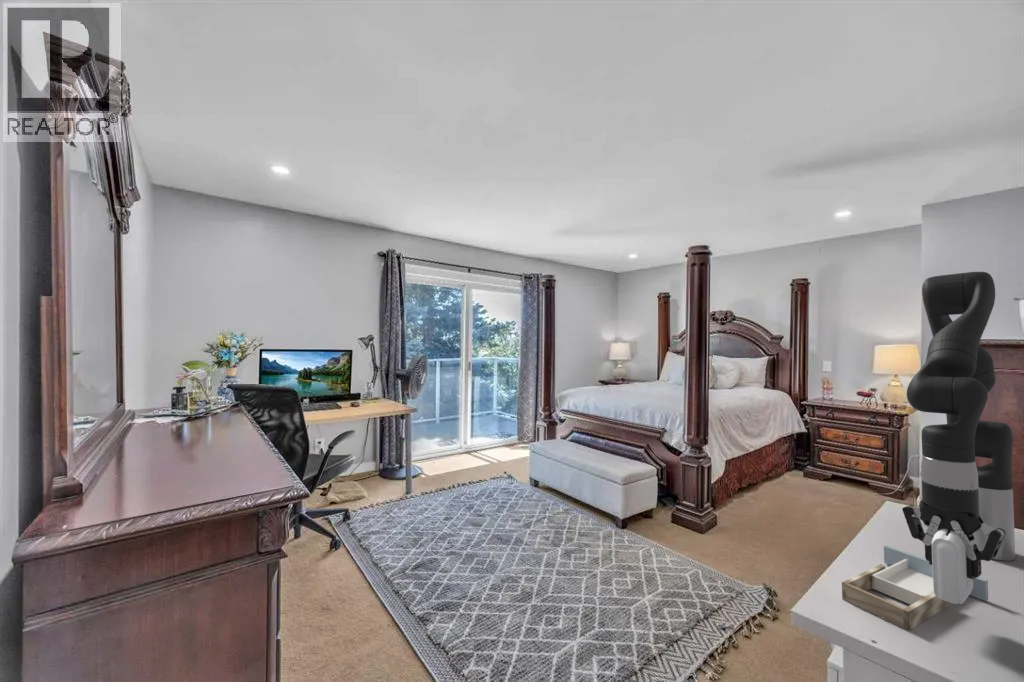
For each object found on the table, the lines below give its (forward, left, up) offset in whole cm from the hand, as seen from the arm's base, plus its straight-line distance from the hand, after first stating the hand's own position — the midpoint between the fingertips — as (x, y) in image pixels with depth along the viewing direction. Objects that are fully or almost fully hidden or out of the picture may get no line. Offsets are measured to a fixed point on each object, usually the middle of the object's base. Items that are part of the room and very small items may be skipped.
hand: (952, 570), depth 79 cm
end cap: (-54, -20, -11) cm, 59 cm away
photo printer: (0, 0, -4) cm, 4 cm away
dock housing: (0, -9, -11) cm, 14 cm away
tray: (-8, -9, -11) cm, 16 cm away
